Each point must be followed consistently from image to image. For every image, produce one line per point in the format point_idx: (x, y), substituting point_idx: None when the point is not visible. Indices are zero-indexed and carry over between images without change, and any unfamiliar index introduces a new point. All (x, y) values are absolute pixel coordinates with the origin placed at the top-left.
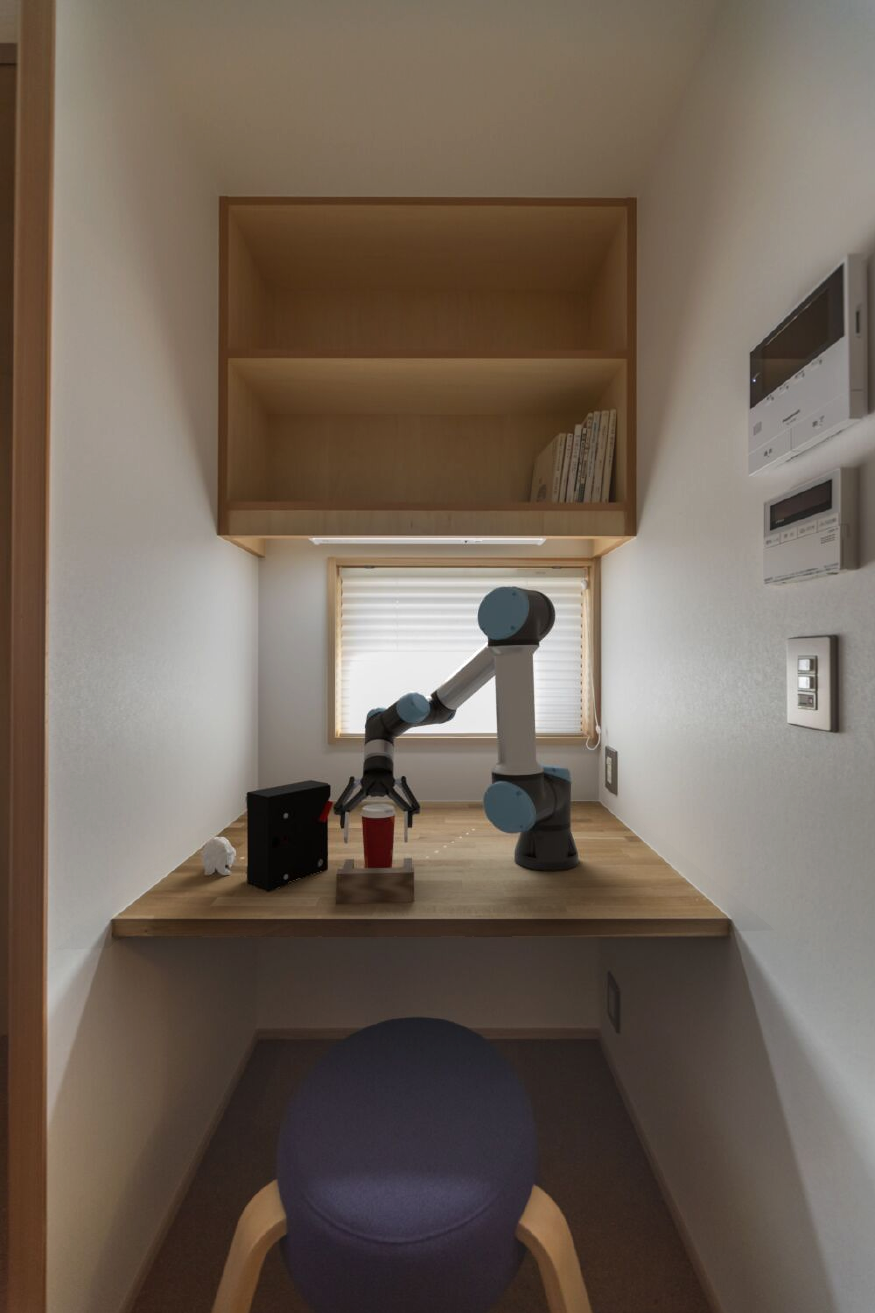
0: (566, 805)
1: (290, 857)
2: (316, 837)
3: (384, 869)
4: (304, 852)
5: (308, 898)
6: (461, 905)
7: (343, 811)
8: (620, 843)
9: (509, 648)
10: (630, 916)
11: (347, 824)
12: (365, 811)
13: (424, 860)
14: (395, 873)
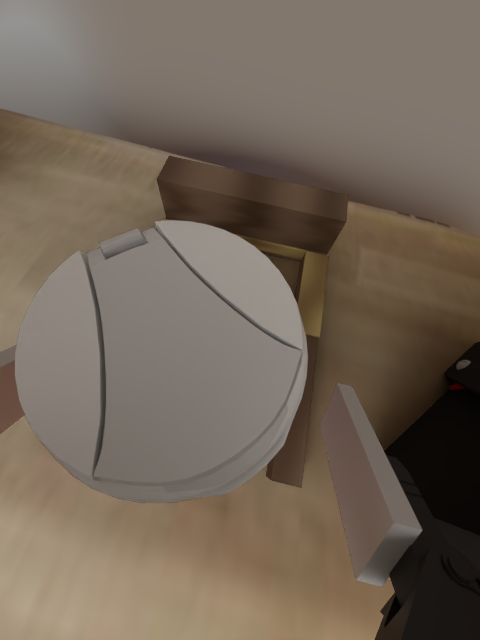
0: None
1: None
2: (478, 465)
3: (231, 186)
4: (472, 423)
5: (379, 283)
6: (103, 178)
7: (444, 547)
8: None
9: None
10: None
11: (359, 430)
12: (283, 278)
13: (8, 490)
14: (211, 166)
